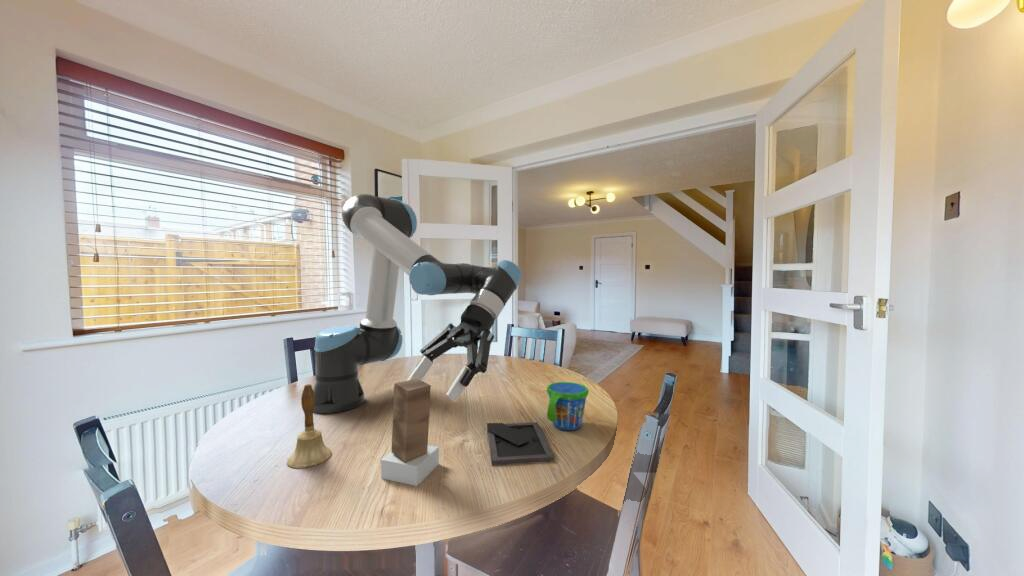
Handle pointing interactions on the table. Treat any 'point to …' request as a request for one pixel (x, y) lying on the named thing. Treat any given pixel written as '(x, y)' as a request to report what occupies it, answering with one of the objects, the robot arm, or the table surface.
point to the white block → (409, 467)
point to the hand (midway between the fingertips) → (429, 390)
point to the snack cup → (566, 404)
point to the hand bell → (309, 437)
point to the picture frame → (517, 443)
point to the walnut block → (410, 419)
